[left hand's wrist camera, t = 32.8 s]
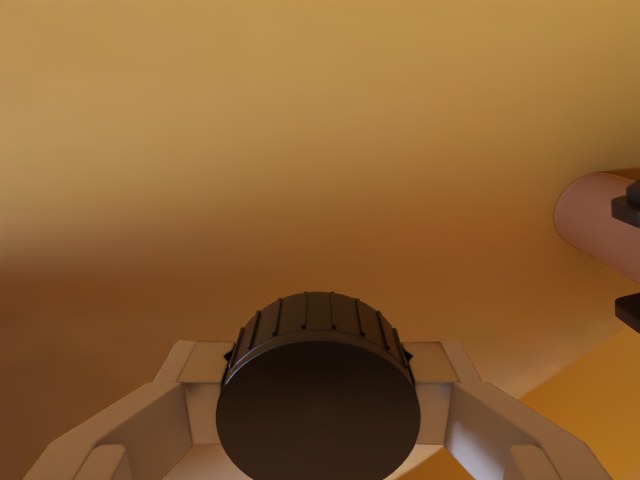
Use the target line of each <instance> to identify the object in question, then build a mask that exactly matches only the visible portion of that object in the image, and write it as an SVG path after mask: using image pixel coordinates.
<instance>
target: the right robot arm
mask: <svg viewBox="0 0 640 480" xmlns="http://www.w3.org/2000/svg"><path fill="white" fill-rule="evenodd" d="M611 214H612V217H613V218H615V219H617V220H620V221H622V222H625V223H627V224H629V225H632V226H634V227H637V228H640V180H637V181H636V182H634V183H633V184H631V185H629V186H628V187H626V195H624V196H620V197H616V198H614V199H612V200H611ZM615 315H616V317H618V318H619V319H620V320H622V321H623V322H624V323H626V324H627V325H628V326H630V327H631V328H632V329H634V330H635V331H636V332H638V333H640V293H636V294H632V295H628V296H624V297H620V298H618V299H616V300H615Z"/></svg>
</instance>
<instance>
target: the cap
mask: <svg viewBox="0 0 640 480" xmlns="http://www.w3.org/2000/svg"><path fill="white" fill-rule="evenodd" d="M408 362H409V360H408V358H406V357H405V355H404V352H403V348H402V345H401V342H400V339H399V336H398V333H397V330H396V328H392V326H391V325H390V323H389V322H388V321H387V320H386V319H385V318H384V317H383V316H382V314H381V312H380V311H379V310H378V311H376V310H375V309H373V308H372V307H370V306H369V305H367V304H365V303H363V302H361V301H360V299H358V298H356V299H355V298H352V297H349V296H346V295H341V294H337V293H334V292H307V291H306V292H304V293H300V294H295V295H292V296H288V297H285V298H283V299H282V298H279V299H278V301H275V302H274V303H272V304H270V305H268V306H266V307H265V308H264V309H262V310H261V311H259V310H258V311H257V312H256V315H255V316H254V317H253V318H252V319H251V320H250V321H249V322H248V323H247V325H246V326H245V327H242V328H241V329H240V332H239V336H238V339H237V342H236V345H235V348H234V351H233V354H232V356H231V357H229V359H228V366H229V368H228V371H227V374H226V377H225V380H224V383H223V386H222V389H221V392H220V395H219V398H218V402H217V407H216V428H217V434H218V437H219V439H220V442H221V445H222V447H223V449H224V450H225V452H226V454H227V455H228V457H229V458H230V459H231V461H232V462H233V463H234V464H235V465H236V466H237V467H238V468H239V469H240V470H241V471H242V472H243V473H245V474H246V475H247V476H248V477H250V478H252V479H253V480H383V479H385V478H386V477H388V476H389V475H390V474H392V473H393V472H394V471H395V470H396V469H397V468H398V467H399V466H401V465H402V463H403V462H404V461H405V460H406V458H407V457H408V456H409V454H410V453H411V451H412V449H413V448H414V445H415V443H416V441H417V438H418V434H419V430H420V424H421V411H420V404H419V401H418V397H417V394H416V391H415V388H414V384H413V381H412V378H411V375H410V372H409V368H408Z"/></svg>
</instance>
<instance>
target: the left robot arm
mask: <svg viewBox="0 0 640 480" xmlns="http://www.w3.org/2000/svg"><path fill="white" fill-rule="evenodd" d="M235 345H236V342H227V341H178V342H176V343H175V345H174V347H173V348H172V350H171V352H170V354H169V355H168V357H167V359H166V361H165V362H164V364H163V366H162V368H161V369H160V371H159V373H158V375H157V377H156V378H155V380H154V382H147V383H145V384H144V385H142V386H141V387H139V388H137V389H136V390H134V391H133V392H131V393H129V394H128V395H126V396H125V397H123V398H121V399H120V400H118V401H116V402H115V403H113V404H112V405H110V406H108V407H107V408H105V409H104V410H102V411H100V412H99V413H97V414H96V415H94V416H92V417H91V418H89V419H87V420H86V421H84V422H83V423H81V424H79V425H78V426H76V427H75V428H73V429H71V430H70V431H68V432H66V433H65V434H63V435H62V436H60V437H58V438H57V439H55V440H54V441H52V442H50V444H49V445H48V446H47V447H46V449H45V450H44V451H43V453H42V454H41V455H40V457H39V458H38V459H37V461H36V462H35V463H34V465H33V466H32V467H31V468H30V470H29V471H28V472H27V474H26V475H25V476H24V478H23V479H22V480H161V479H162V478H163V477H164V476H165V475H166V474H167V473H168V472H169V471H170V470H171V469H172V467H173V466H174V465H175V464H176V463H177V462H178V461H179V460H180V459H181V458H182V457H183V456H184V455H185V454H186V453H187V452H188V451H189V450H190V449H191V448H192V445H209V444H221V442H220V439H219V437H218V434H217V428H216V407H217V402H218V398H219V395H220V392H221V389H222V386H223V383H224V380H225V377H226V374H227V371H228V368H229V366H228V359H229V357H231V356H232V354H233V351H234V348H235ZM401 345H402V348H403V352H404V355H405V357H406V358H408V360H409V362H408V368H409V372H410V375H411V378H412V381H413V384H414V388H415V391H416V394H417V397H418V401H419V404H420V411H421V424H420V430H419V434H418V438H417V441H416V443H415V444H427V445H444V447H445V448H446V449H447V450H448V451H449V452H450V453H451V454H452V455H453V456H454V457H455V459H456V460H457V461H458V462H459V463H460V464H461V465H462V466H463V467H464V468H465V469H466V470H467V471H468V472H469V473H470V474H471V475H472V476H473V477H474V478H475V480H613V479H612V478H611V476H610V475H609V474H608V472H607V471H606V470H605V468H604V467H603V466H602V464H601V463H600V462H599V460H598V459H597V457H596V456H595V455H594V453H593V452H592V451H591V449H590V448H589V447H588V445H587V444H586V443H585V442H583V441H582V440H580V439H578V438H577V437H575V436H574V435H572V434H570V433H569V432H567V431H566V430H564V429H562V428H561V427H559V426H558V425H556V424H554V423H553V422H551V421H550V420H548V419H547V418H545V417H543V416H542V415H540V414H539V413H537V412H535V411H534V410H532V409H531V408H529V407H527V406H526V405H524V404H523V403H521V402H519V401H518V400H516V399H515V398H513V397H511V396H510V395H508V394H507V393H505V392H504V391H502V390H500V389H499V388H497V387H496V386H494V385H492V384H491V383H489V382H483V381H482V380H481V378H480V376H479V374H478V372H477V371H476V369H475V367H474V365H473V364H472V362H471V360H470V358H469V356H468V355H467V353H466V351H465V349H464V348H463V346H462V344H461V342H459V341H438V342H401Z"/></svg>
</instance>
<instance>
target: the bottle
mask: <svg viewBox="0 0 640 480" xmlns="http://www.w3.org/2000/svg"><path fill="white" fill-rule="evenodd" d="M636 181H637V180H634V179H631V178H627V177H623V176H620V175H616V174H612V173H608V172H596V173H591V174H588V175H585V176H583V177H581V178H579V179H577V180H576V181H574V182H573V183H572V184H570V185H569V186H568V187H567V188H566V189H565V190H564V192H563V193H562V194H561V196H560V197H559V199H558V201H557V204H556V206H555V210H554V224H555V228H556V230H557V232H558V234H559V235H560V236H561V237H562V238H563V239H564V240H565V241H566V242H568V243H570V244H572V245H573V246H575V247H577V248H578V249H580V250H582V251H583V252H585V253H587V254H588V255H590V256H592V257H594V258H595V259H597V260H599V261H600V262H602V263H604V264H605V265H607V266H609V267H610V268H612V269H614V270H615V271H617V272H619V273H621V274H622V275H624V276H626V277H627V278H629V279H631V280H632V281H634V282H636V283H637V284H639V285H640V228H637V227H634V226H632V225H629V224H627V223H625V222H622V221H620V220H617V219H615V218H613V217H612V214H611V200H612V199H614V198H616V197H620V196H624V195H626V187H628V186H629V185H631V184H633V183H634V182H636Z"/></svg>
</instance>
